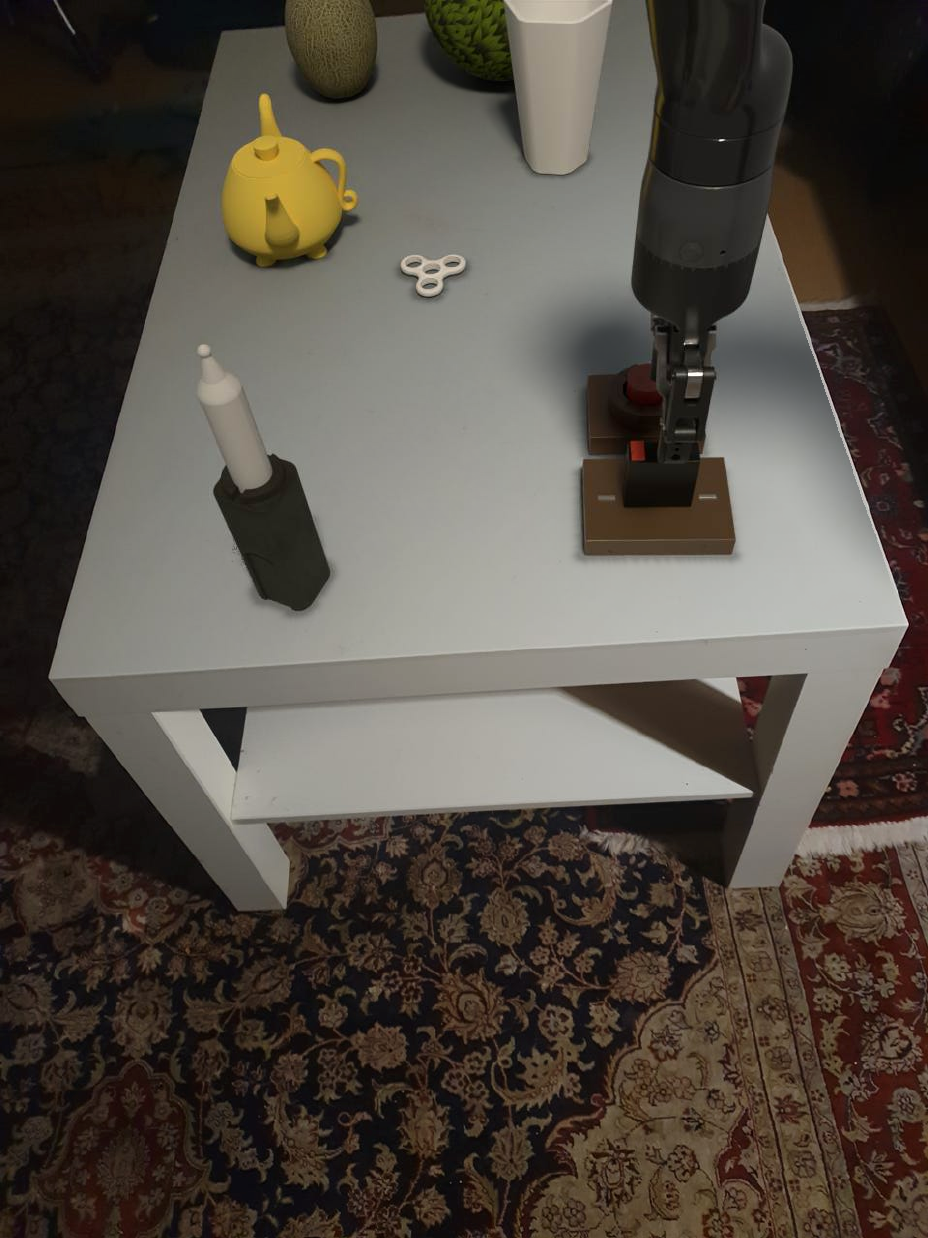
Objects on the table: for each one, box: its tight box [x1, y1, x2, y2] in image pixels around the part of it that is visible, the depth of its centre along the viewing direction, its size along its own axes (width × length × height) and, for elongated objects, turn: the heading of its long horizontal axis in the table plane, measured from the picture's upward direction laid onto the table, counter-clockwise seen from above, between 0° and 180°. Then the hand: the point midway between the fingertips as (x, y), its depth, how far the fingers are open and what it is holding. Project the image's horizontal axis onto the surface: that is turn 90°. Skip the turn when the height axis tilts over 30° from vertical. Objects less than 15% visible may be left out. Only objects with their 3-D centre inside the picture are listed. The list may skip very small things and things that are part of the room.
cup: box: [504, 0, 614, 176], centre depth 101 cm, size 11×10×17 cm
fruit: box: [284, 0, 378, 99], centre depth 114 cm, size 11×11×15 cm
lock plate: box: [581, 456, 737, 556], centre depth 77 cm, size 12×9×2 cm
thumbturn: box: [623, 441, 701, 507], centre depth 74 cm, size 6×2×6 cm, turn 87°
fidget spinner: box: [400, 254, 467, 298], centre depth 97 cm, size 7×6×1 cm
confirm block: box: [586, 363, 707, 456], centre depth 83 cm, size 10×8×4 cm
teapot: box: [221, 93, 359, 268], centre depth 98 cm, size 20×15×12 cm
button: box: [626, 362, 669, 406], centre depth 80 cm, size 4×4×2 cm
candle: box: [196, 343, 331, 612], centre depth 67 cm, size 5×5×25 cm
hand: (667, 417), depth 69 cm, fingers open, 8 cm apart
